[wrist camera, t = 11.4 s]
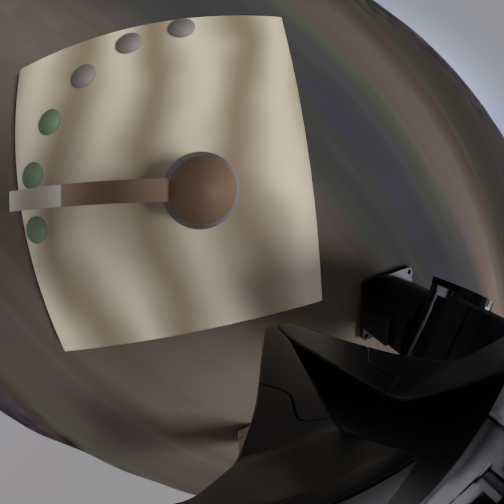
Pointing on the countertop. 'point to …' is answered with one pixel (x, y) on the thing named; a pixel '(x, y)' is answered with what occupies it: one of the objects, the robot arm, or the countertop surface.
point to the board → (163, 166)
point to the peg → (147, 192)
